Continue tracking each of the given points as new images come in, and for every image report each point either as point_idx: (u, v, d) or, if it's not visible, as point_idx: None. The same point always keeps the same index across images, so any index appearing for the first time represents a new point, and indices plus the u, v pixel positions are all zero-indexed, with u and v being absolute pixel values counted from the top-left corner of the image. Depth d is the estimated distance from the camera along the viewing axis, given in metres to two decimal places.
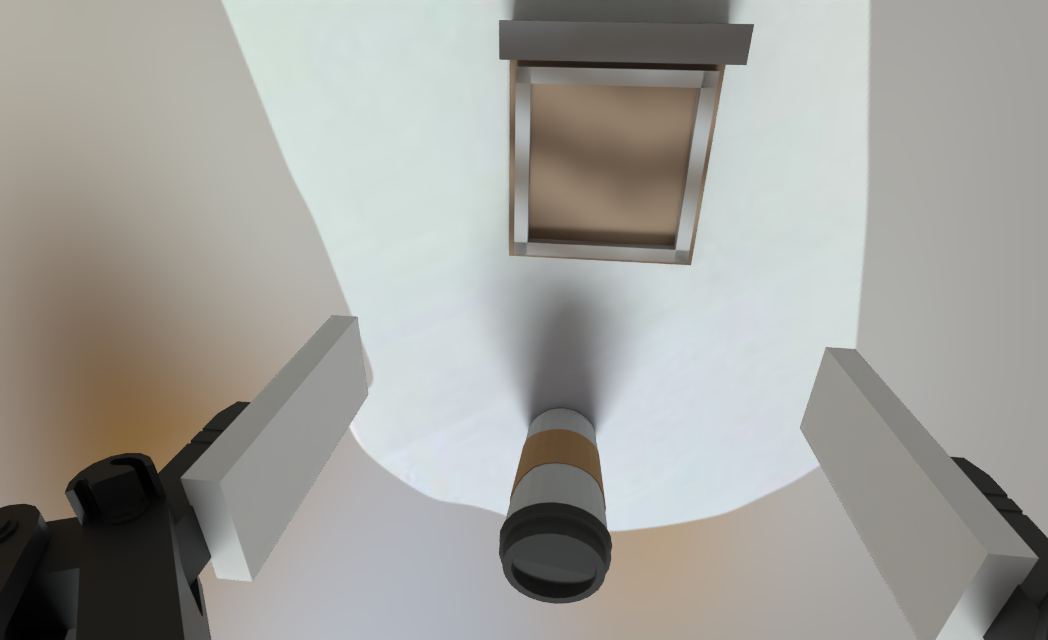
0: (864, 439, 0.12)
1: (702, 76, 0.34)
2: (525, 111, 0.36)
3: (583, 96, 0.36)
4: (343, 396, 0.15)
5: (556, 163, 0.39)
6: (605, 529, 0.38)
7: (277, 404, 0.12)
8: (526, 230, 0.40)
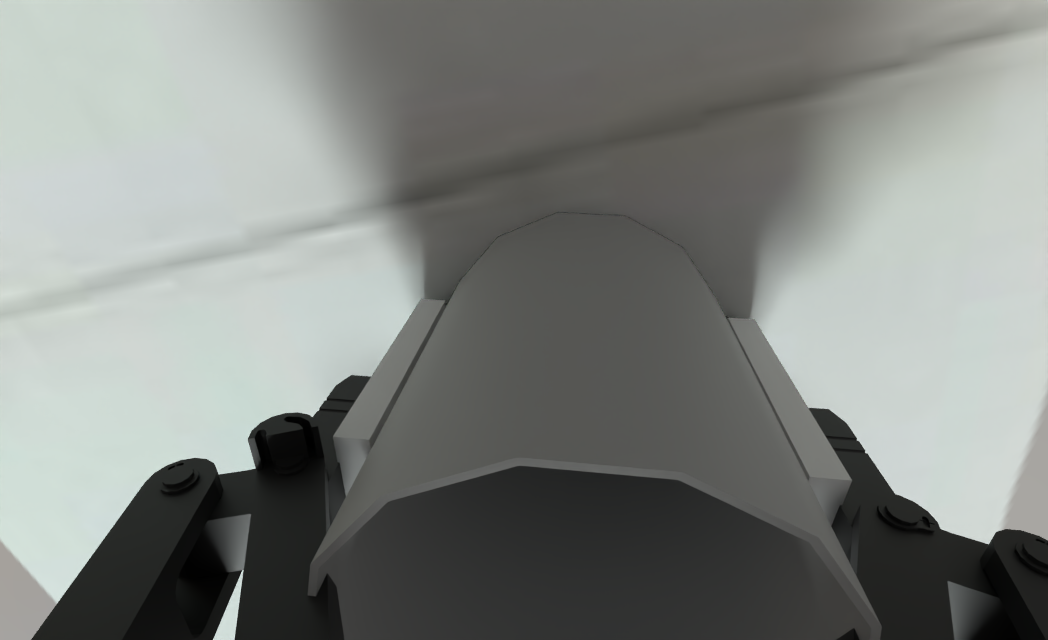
0: None
1: None
2: None
3: None
4: None
5: None
6: None
7: (397, 375, 0.13)
8: None
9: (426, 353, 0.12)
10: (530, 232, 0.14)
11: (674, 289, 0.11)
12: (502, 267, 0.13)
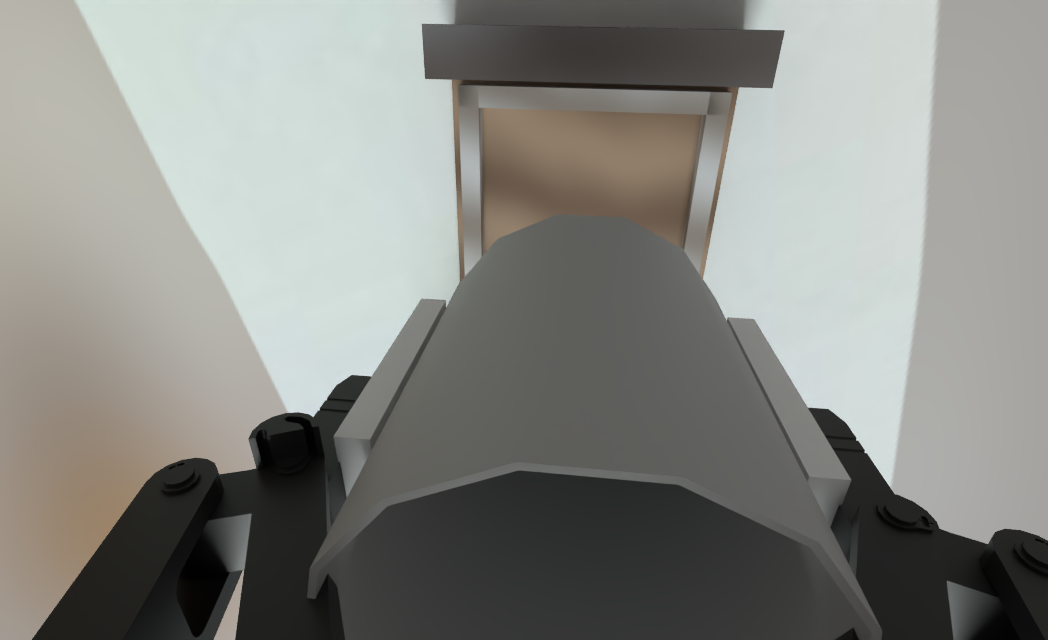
0: None
1: (708, 99, 0.25)
2: (473, 143, 0.27)
3: (550, 124, 0.27)
4: None
5: (517, 209, 0.30)
6: None
7: (397, 375, 0.13)
8: None
9: (426, 355, 0.12)
10: (530, 234, 0.14)
11: (674, 291, 0.11)
12: (502, 269, 0.13)
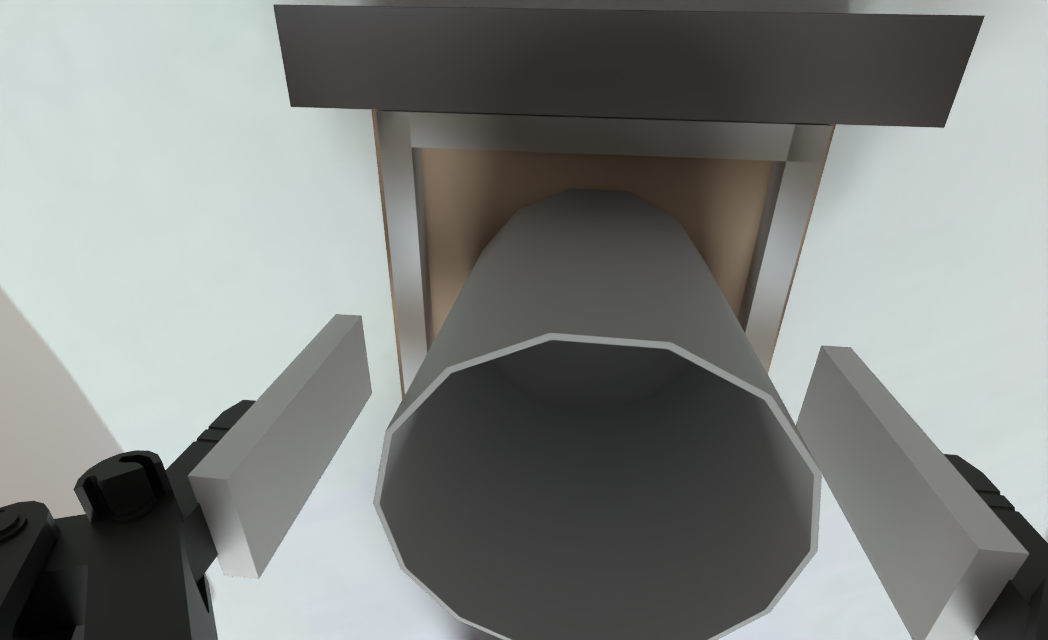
0: (858, 437, 0.12)
1: (791, 136, 0.15)
2: (406, 202, 0.17)
3: (529, 171, 0.17)
4: (347, 395, 0.15)
5: None
6: None
7: (282, 402, 0.12)
8: None
9: (461, 297, 0.14)
10: (546, 203, 0.17)
11: (669, 244, 0.14)
12: (524, 229, 0.15)
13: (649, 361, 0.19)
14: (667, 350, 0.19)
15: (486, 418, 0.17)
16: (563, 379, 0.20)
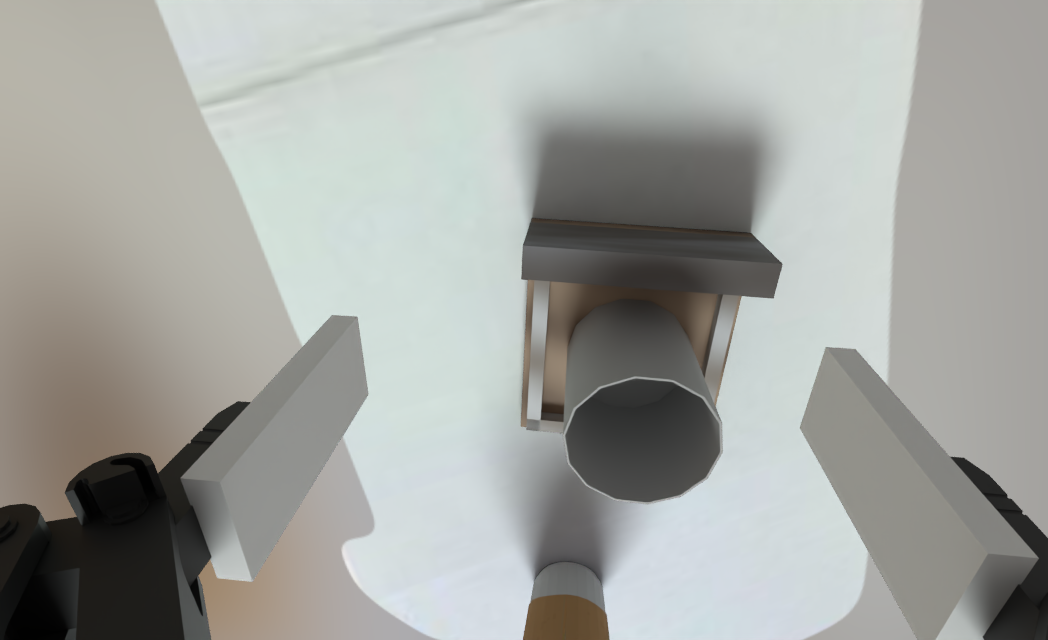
0: (864, 439, 0.12)
1: None
2: (543, 304, 0.35)
3: (602, 290, 0.36)
4: (343, 396, 0.15)
5: None
6: None
7: (277, 404, 0.12)
8: (539, 409, 0.39)
9: (580, 355, 0.32)
10: (611, 307, 0.35)
11: (670, 334, 0.32)
12: (605, 323, 0.33)
13: (658, 382, 0.37)
14: None
15: (580, 409, 0.36)
16: (613, 391, 0.38)
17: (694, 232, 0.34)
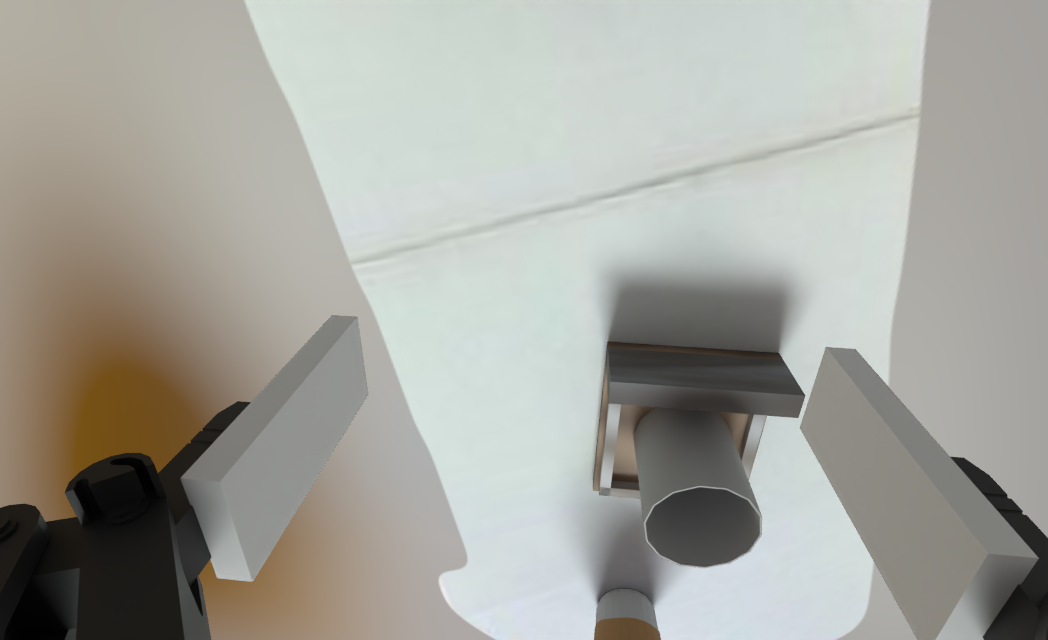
0: (864, 439, 0.12)
1: None
2: (617, 407, 0.46)
3: None
4: (343, 396, 0.15)
5: None
6: None
7: (277, 404, 0.12)
8: (610, 480, 0.50)
9: (650, 453, 0.43)
10: (670, 409, 0.45)
11: (718, 437, 0.42)
12: (667, 426, 0.44)
13: None
14: None
15: None
16: None
17: (735, 355, 0.44)
